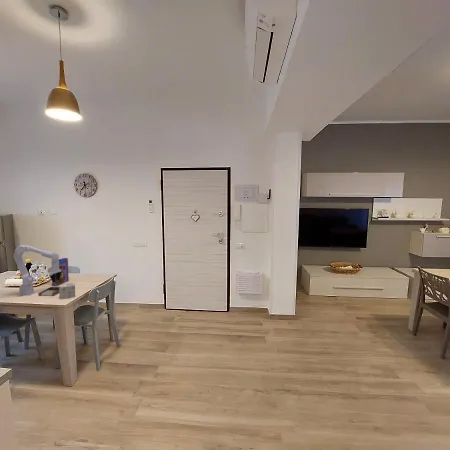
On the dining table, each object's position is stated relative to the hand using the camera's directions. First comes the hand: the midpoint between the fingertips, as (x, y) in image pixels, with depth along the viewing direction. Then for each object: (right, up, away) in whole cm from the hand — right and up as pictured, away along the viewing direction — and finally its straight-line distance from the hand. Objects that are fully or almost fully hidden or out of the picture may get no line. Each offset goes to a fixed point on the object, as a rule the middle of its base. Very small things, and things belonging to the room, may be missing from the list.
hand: (55, 281), depth 238 cm
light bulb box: (+19, -11, -14) cm, 26 cm away
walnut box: (0, -10, -5) cm, 11 cm away
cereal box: (-10, -8, +23) cm, 27 cm away
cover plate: (0, -10, -8) cm, 13 cm away
